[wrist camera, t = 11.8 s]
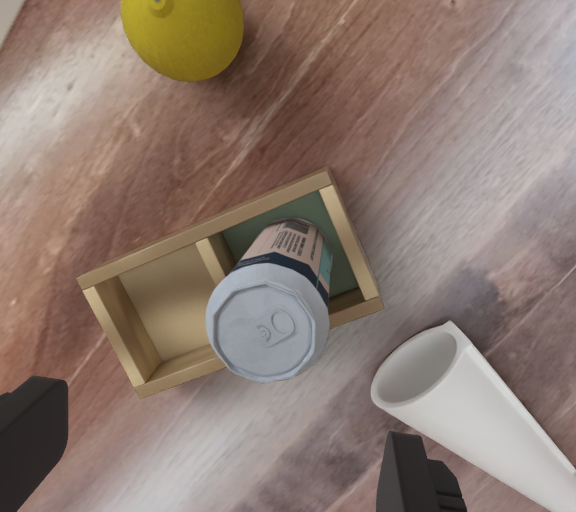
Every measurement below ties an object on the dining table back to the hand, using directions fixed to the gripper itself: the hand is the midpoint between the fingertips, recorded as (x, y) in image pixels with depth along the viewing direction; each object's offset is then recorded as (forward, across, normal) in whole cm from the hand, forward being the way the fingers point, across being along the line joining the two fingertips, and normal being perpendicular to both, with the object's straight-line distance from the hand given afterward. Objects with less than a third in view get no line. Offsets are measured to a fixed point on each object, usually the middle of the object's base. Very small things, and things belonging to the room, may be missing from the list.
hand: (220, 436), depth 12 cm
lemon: (+19, +6, -12) cm, 23 cm away
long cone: (+19, -15, +11) cm, 27 cm away
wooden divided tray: (+19, +3, +2) cm, 19 cm away
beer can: (+18, 0, 0) cm, 18 cm away
